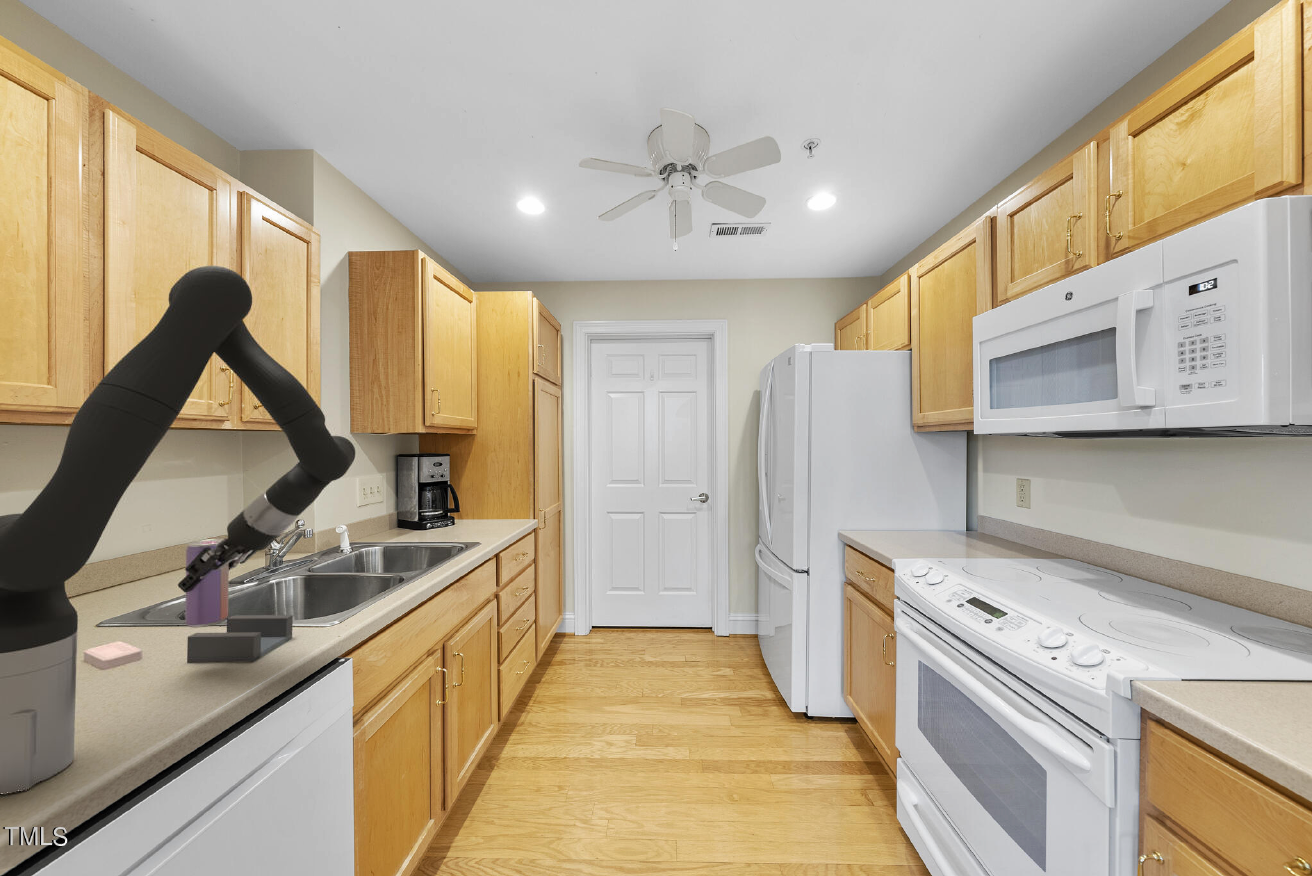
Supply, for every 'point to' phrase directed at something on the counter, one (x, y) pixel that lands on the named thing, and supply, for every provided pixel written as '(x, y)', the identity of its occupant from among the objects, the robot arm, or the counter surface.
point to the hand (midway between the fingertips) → (197, 583)
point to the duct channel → (241, 639)
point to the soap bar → (112, 655)
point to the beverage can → (207, 591)
